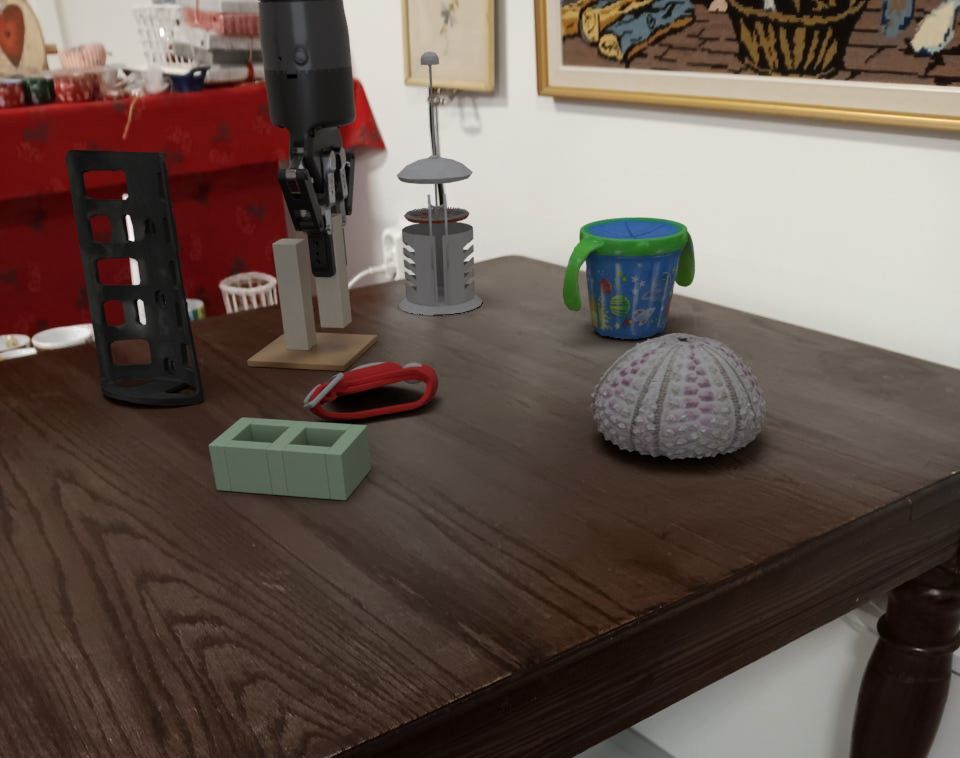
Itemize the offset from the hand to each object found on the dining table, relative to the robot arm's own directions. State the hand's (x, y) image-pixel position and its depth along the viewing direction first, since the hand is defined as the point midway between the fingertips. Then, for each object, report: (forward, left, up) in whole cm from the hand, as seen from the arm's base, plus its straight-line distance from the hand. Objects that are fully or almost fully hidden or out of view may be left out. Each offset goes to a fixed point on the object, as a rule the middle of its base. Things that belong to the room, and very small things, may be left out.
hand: (329, 271), depth 94 cm
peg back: (-4, 0, -7) cm, 8 cm away
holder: (-13, -13, -8) cm, 20 cm away
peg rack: (+7, -30, -8) cm, 31 cm away
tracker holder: (+7, -14, -8) cm, 18 cm away
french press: (+5, +19, -8) cm, 21 cm away
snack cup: (+27, +12, -8) cm, 31 cm away
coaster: (-3, 0, -8) cm, 8 cm away
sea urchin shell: (+34, -17, -8) cm, 39 cm away
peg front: (0, 0, -5) cm, 5 cm away
